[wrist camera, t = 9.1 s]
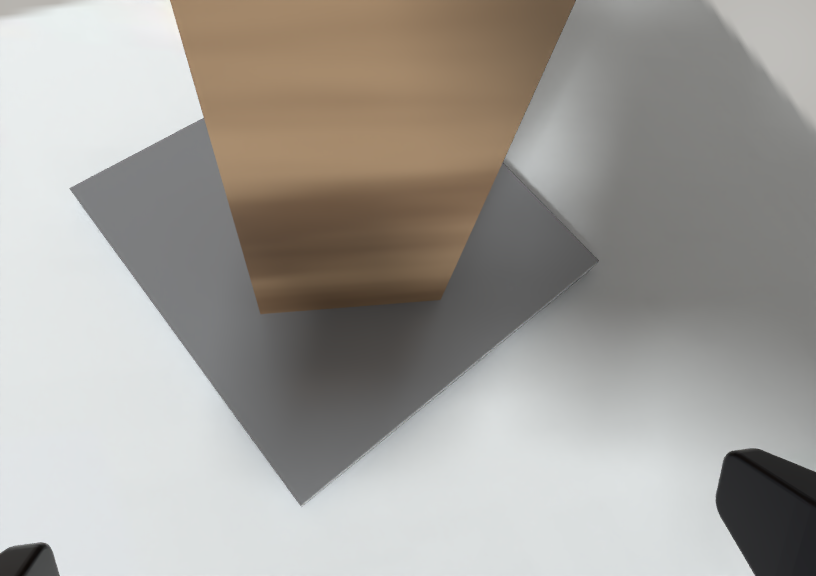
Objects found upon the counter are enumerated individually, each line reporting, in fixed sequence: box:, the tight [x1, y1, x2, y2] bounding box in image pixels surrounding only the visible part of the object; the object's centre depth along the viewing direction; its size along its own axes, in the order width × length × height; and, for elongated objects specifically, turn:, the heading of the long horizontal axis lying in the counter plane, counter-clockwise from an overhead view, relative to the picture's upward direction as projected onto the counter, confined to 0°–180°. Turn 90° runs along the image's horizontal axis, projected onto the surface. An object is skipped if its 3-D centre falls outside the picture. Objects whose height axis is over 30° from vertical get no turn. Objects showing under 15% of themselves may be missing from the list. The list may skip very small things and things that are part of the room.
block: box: [170, 0, 576, 314], centre depth 12 cm, size 5×5×13 cm
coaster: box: [69, 118, 598, 507], centre depth 18 cm, size 11×11×1 cm
